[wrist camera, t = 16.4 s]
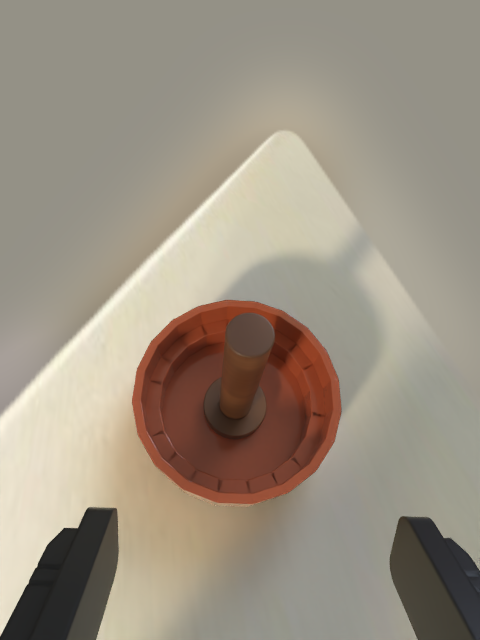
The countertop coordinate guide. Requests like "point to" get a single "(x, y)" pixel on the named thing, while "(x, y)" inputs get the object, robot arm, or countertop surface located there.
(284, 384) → the bowl
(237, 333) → the masher
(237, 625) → the countertop surface
